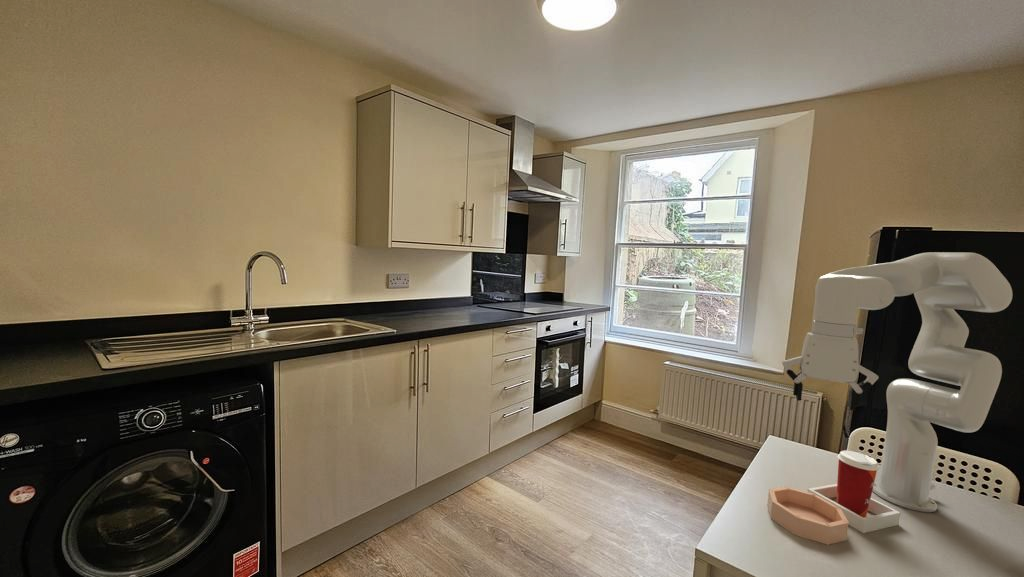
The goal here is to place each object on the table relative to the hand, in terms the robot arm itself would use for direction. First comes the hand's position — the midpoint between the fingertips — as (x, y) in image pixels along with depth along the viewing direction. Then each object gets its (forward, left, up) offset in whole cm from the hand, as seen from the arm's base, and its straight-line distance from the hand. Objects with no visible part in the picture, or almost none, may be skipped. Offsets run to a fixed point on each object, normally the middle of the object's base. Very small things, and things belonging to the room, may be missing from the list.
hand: (823, 403), depth 92 cm
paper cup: (-14, +1, -28) cm, 31 cm away
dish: (+2, +1, -28) cm, 28 cm away
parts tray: (-14, +1, -28) cm, 31 cm away
